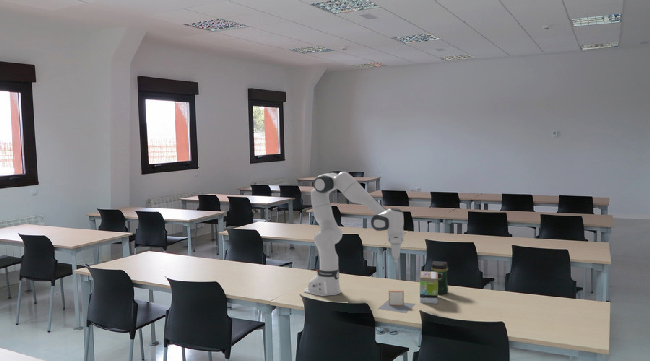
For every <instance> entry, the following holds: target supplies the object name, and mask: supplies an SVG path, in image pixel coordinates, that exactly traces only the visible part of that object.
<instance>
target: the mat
mask: <svg viewBox="0 0 650 361" xmlns="http://www.w3.org/2000/svg"><path fill="white" fill-rule="evenodd" d="M415 305H416V303H412V302H411V303H410V302H405V301H404V306H396V305H389V299H388V300H387V301H385V302H384V303H383V304H381V305H380V306H379V307H377V310H382V311H383V310H385V311H390V312H397V313H404V314H407V313H408V312H409V311H410V310H412V308H414V306H415Z"/></svg>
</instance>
